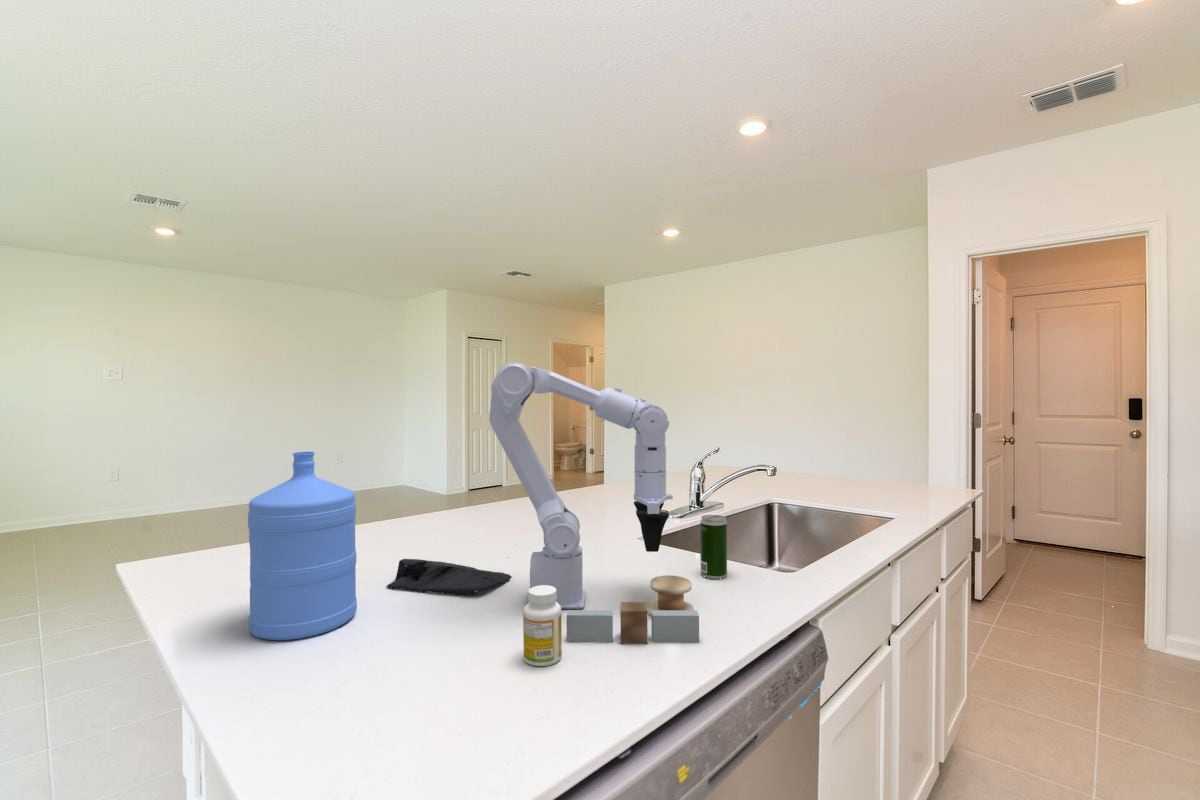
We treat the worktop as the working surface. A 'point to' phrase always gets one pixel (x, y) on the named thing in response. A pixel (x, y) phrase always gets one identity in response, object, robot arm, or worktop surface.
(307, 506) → the water jug
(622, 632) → the block
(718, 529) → the beer can
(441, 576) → the dark slate chunk
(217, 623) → the worktop surface
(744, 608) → the worktop surface
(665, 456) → the robot arm
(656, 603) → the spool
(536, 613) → the supplement bottle
